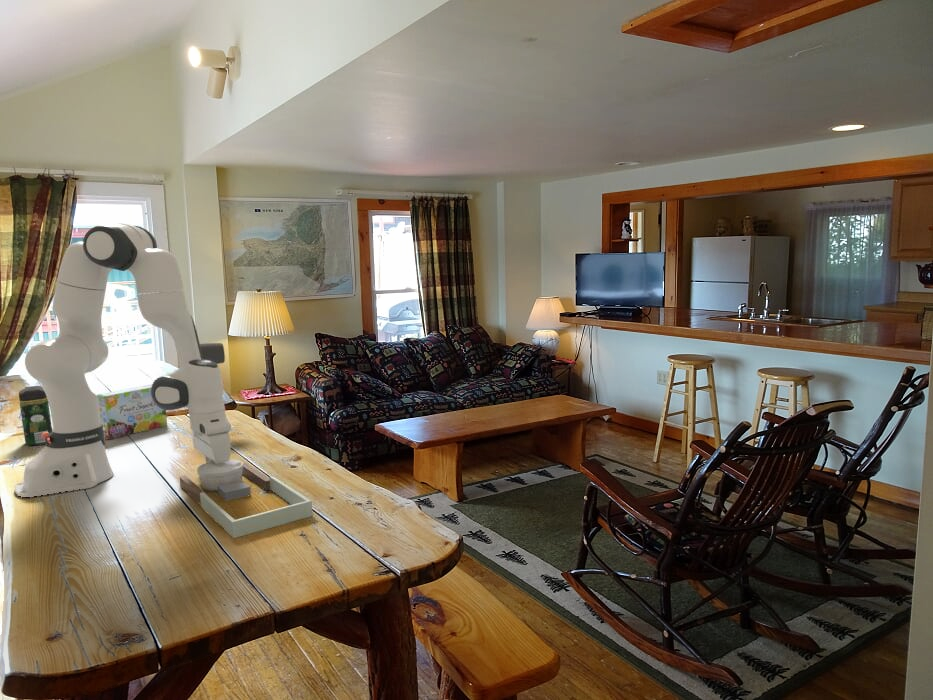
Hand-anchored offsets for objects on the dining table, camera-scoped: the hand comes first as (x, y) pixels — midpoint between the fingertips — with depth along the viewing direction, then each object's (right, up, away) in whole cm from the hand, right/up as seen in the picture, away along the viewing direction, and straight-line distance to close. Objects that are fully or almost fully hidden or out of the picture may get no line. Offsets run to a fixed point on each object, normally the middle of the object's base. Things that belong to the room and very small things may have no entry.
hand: (212, 471), depth 176 cm
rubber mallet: (-19, +5, +49) cm, 53 cm away
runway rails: (+6, -3, -8) cm, 11 cm away
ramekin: (+5, -3, -6) cm, 8 cm away
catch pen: (+19, -5, -24) cm, 31 cm away
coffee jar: (-73, +2, +41) cm, 84 cm away
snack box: (-46, +4, +51) cm, 69 cm away
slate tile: (+10, -4, -13) cm, 17 cm away
